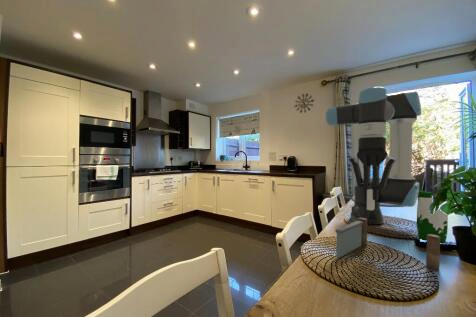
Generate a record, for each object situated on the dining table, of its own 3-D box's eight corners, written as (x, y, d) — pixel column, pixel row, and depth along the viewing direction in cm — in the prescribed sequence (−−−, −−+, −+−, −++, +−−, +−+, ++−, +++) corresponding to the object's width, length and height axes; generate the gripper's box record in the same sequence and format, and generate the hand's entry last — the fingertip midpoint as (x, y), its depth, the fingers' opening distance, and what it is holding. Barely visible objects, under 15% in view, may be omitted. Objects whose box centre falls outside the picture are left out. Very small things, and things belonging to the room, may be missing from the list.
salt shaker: (364, 232, 95) (364, 206, 95) (349, 231, 96) (350, 205, 96) (359, 228, 101) (359, 203, 100) (345, 227, 102) (346, 202, 102)
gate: (357, 243, 82) (357, 220, 81) (362, 245, 80) (362, 221, 80) (335, 256, 72) (335, 229, 71) (340, 258, 70) (341, 230, 70)
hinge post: (360, 242, 84) (360, 217, 84) (368, 245, 82) (368, 219, 82) (356, 244, 82) (356, 218, 82) (364, 247, 80) (364, 220, 80)
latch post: (427, 265, 67) (428, 233, 67) (440, 269, 65) (441, 236, 65) (424, 267, 65) (425, 235, 65) (437, 272, 63) (438, 238, 63)
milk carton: (415, 236, 91) (416, 189, 91) (444, 241, 86) (446, 192, 86) (417, 242, 84) (418, 192, 84) (448, 249, 79) (450, 195, 79)
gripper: (346, 137, 71) (345, 207, 72) (393, 135, 62) (391, 216, 62) (354, 138, 76) (353, 203, 77) (399, 136, 67) (397, 211, 67)
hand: (370, 209), depth 70 cm, fingers closed
